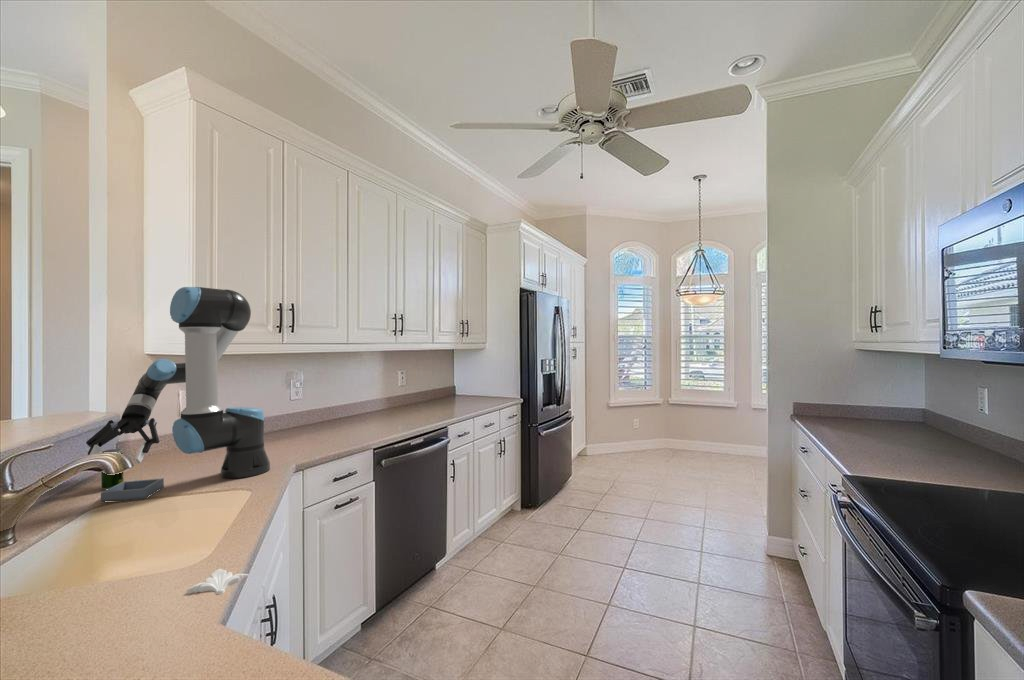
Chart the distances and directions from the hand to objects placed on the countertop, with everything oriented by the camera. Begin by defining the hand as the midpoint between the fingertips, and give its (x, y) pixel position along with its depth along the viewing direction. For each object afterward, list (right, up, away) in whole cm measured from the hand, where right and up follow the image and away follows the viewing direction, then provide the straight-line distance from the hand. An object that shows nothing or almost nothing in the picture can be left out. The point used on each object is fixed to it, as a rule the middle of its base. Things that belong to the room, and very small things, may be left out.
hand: (113, 462), depth 147 cm
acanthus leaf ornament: (+75, -7, -61) cm, 97 cm away
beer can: (+2, -8, -2) cm, 8 cm away
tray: (+15, -7, -10) cm, 19 cm away
